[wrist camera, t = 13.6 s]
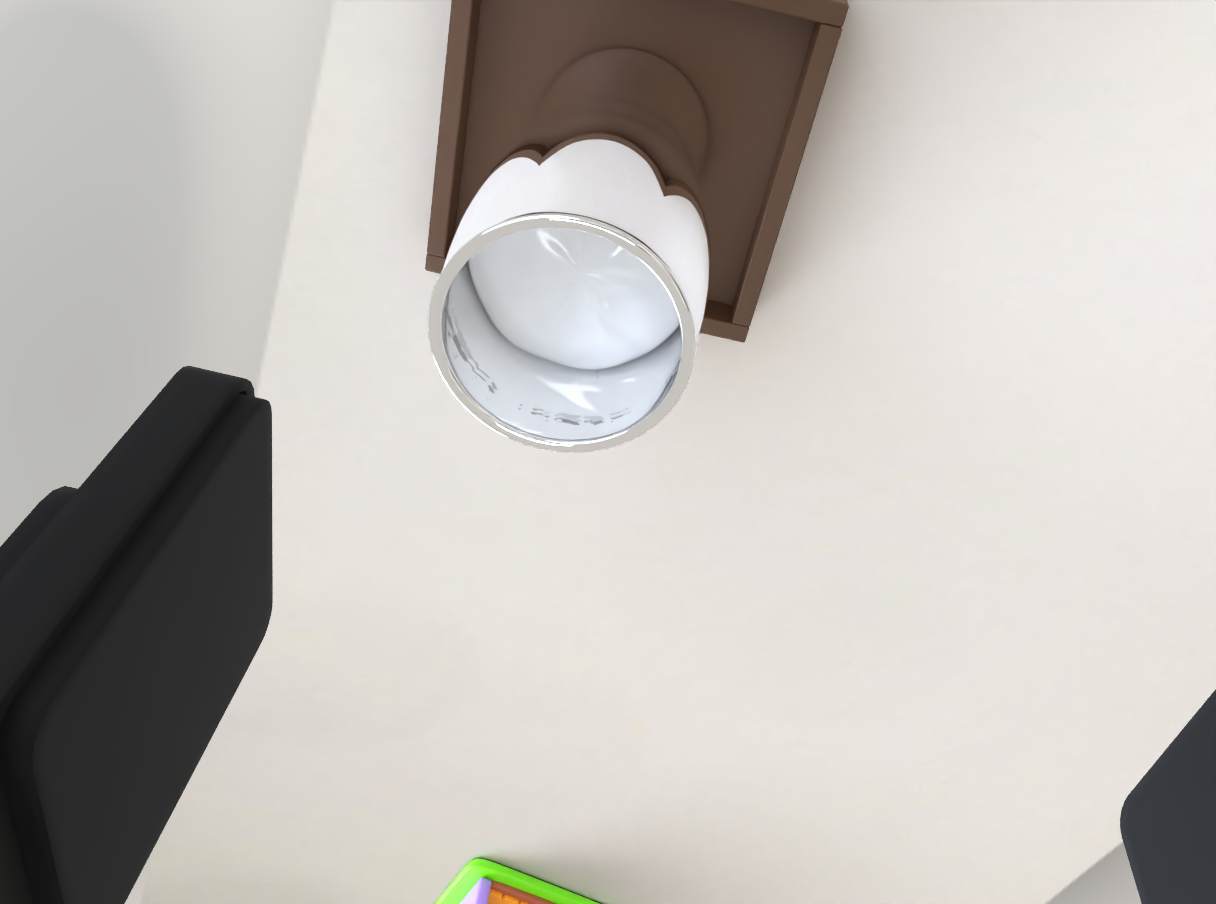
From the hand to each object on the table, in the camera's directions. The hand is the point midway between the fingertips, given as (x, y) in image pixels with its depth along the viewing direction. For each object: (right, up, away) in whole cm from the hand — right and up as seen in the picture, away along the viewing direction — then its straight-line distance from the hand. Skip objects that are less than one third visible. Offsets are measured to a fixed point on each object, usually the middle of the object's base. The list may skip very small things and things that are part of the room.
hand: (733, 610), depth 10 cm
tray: (-1, +13, +28) cm, 31 cm away
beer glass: (-1, +13, +28) cm, 31 cm away
